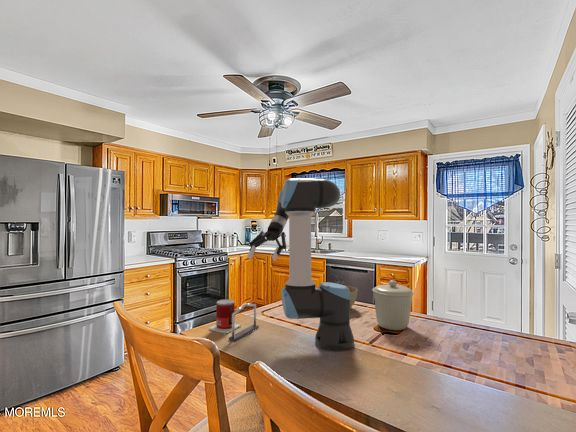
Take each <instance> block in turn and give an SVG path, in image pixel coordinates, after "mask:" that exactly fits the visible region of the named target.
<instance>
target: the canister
mask: <svg viewBox="0 0 576 432" xmlns="http://www.w3.org/2000/svg"><path fill="white" fill-rule="evenodd" d="M371 290H372V292H373V298H374V300H373V301H374V308H375V310H374V311H375V316H376V322H377V324H378V326H379V327H381V328H383V329H385V330H391V331H403V330H406V329H407V328H408V326H409V324H410V317H411V310H412V302H413V295H414V294H415V291H414V290H413V289H411V288H410V287H407V286H403V285H398V282H397V281H396V280H394V279H391V280H389V281H388V284H379V285H377V286H375V287H373V288H372V289H371Z"/></svg>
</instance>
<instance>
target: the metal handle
mask: <svg viewBox="0 0 576 432" xmlns="http://www.w3.org/2000/svg"><path fill="white" fill-rule="evenodd" d="M245 307H252V308H253V324H252V325H249V326H248V327H245V328H243V329H242V330H241V331H238V332H237V333H235V324H236V323H235V319H236V318H235V317H236V315H238V313H239V312H241V311H242V310H243V309H244V308H245ZM258 327H259V328H260V325H258V324H257V304H256V303H249V302H248V303H246V302H244V303H243V304H242V305H240V306H239V307H238V308H237V309H236V310H235V312H234V313H233V314H232V332H231V336H229V337H228V341H229V340H230V341H229V342H233V341H234V343H235V342H237V341H239V340H241V339H242V338H245V337H246V336H248V335H249V334H251V333H253V332H254V331H256V330H258V329H259V328H258ZM257 328H258V329H257ZM255 329H256V330H255ZM253 330H254V331H253ZM252 331H253V332H252ZM250 332H251V333H250ZM248 333H249V334H248ZM247 334H248V335H247ZM245 335H246V336H245ZM240 338H241V339H240Z"/></svg>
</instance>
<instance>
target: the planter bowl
mask: <svg viewBox="0 0 576 432" xmlns="http://www.w3.org/2000/svg"><path fill="white" fill-rule="evenodd" d="M345 286H346V287H347V288H348V289H349V291H350V311H351V310H352V307H353V306H354V304H355V302H356V300H357V297H358V288H357V287H354V286H352V285H351V286H349V285H345Z"/></svg>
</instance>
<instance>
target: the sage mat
mask: <svg viewBox="0 0 576 432" xmlns="http://www.w3.org/2000/svg"><path fill="white" fill-rule="evenodd" d="M240 326H241V327H242V324H238V323H235V329H236V330H237V329H239V328H241V327H240ZM238 327H239V328H238ZM208 330H209V331H213V332H217V333H223V334H226V333H228V334H230V333H232V332H231V331H232V328H230V329H220V328H218V327H217V325H216V324H215V325H212V326H210V327H209V328H208ZM229 332H230V333H229Z"/></svg>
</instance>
